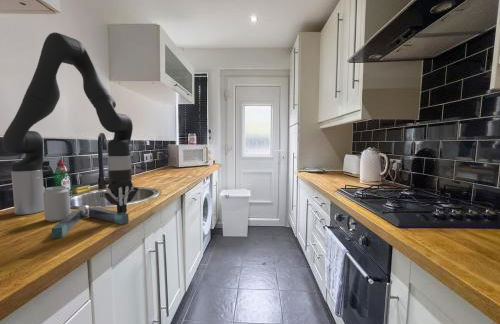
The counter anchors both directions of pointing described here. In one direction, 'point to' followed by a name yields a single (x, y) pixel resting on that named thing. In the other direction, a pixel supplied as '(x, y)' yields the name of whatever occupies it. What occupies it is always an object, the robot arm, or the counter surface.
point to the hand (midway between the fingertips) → (122, 214)
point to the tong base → (69, 222)
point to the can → (56, 203)
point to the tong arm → (109, 215)
